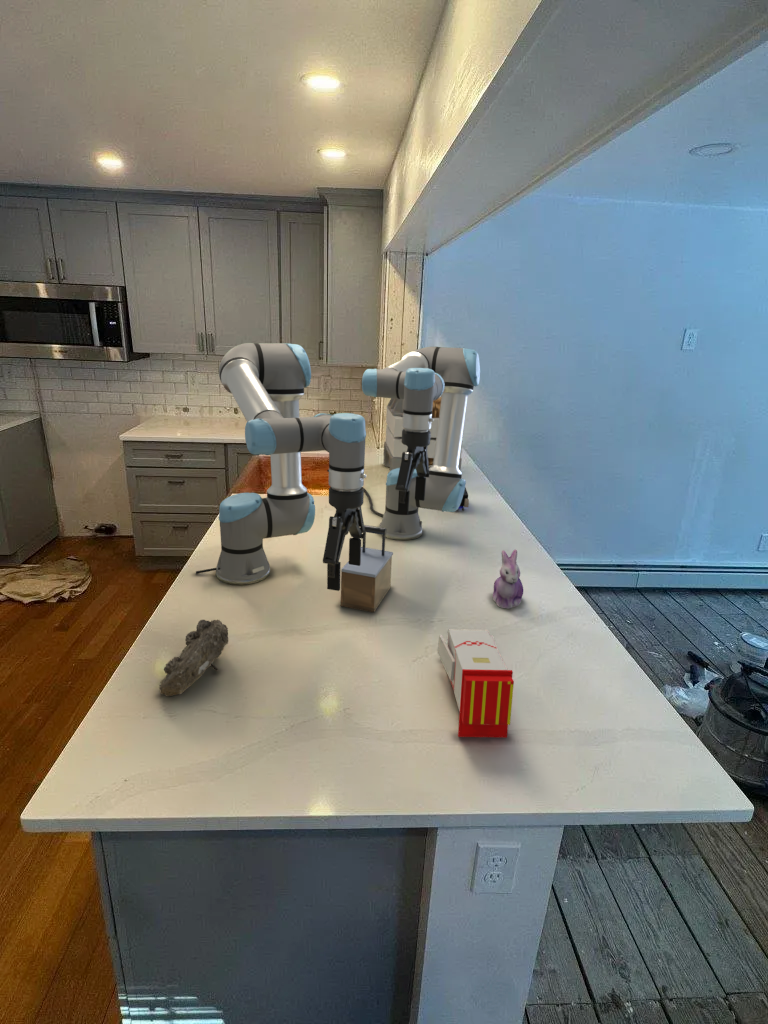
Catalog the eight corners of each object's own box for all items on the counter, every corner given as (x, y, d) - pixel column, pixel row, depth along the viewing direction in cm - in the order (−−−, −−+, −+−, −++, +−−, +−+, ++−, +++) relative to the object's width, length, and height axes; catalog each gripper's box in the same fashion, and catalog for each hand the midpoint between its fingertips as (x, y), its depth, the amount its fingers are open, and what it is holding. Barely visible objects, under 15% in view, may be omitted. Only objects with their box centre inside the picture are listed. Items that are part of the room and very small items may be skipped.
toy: (488, 613, 130) (523, 677, 101) (484, 667, 133) (517, 744, 104) (435, 612, 130) (455, 676, 101) (432, 666, 133) (451, 743, 103)
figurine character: (468, 516, 224) (463, 500, 237) (471, 498, 221) (465, 483, 234) (452, 515, 224) (447, 499, 237) (453, 498, 220) (449, 482, 234)
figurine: (505, 613, 150) (512, 561, 145) (482, 596, 158) (488, 546, 153) (533, 606, 154) (540, 555, 149) (509, 589, 163) (515, 541, 158)
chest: (359, 582, 164) (360, 550, 160) (390, 587, 161) (392, 555, 158) (340, 605, 150) (341, 571, 147) (373, 612, 148) (375, 577, 144)
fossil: (183, 622, 131) (229, 592, 126) (212, 650, 134) (258, 621, 129) (138, 690, 111) (189, 657, 106) (173, 721, 114) (225, 691, 109)
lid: (361, 549, 161) (362, 520, 158) (392, 554, 158) (394, 525, 155) (341, 571, 147) (341, 540, 144) (375, 577, 144) (376, 545, 141)
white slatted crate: (382, 463, 289) (386, 382, 275) (445, 464, 293) (451, 384, 279) (390, 482, 257) (394, 392, 243) (460, 483, 261) (468, 394, 247)
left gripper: (342, 506, 109) (340, 604, 117) (380, 474, 132) (376, 557, 139) (306, 501, 111) (306, 597, 118) (349, 470, 134) (348, 553, 141)
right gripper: (414, 440, 135) (409, 523, 142) (443, 423, 157) (438, 496, 164) (385, 436, 138) (381, 518, 145) (418, 420, 160) (413, 492, 167)
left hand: (344, 576), depth 129 cm, fingers open, 13 cm apart
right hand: (411, 506), depth 155 cm, fingers open, 13 cm apart
